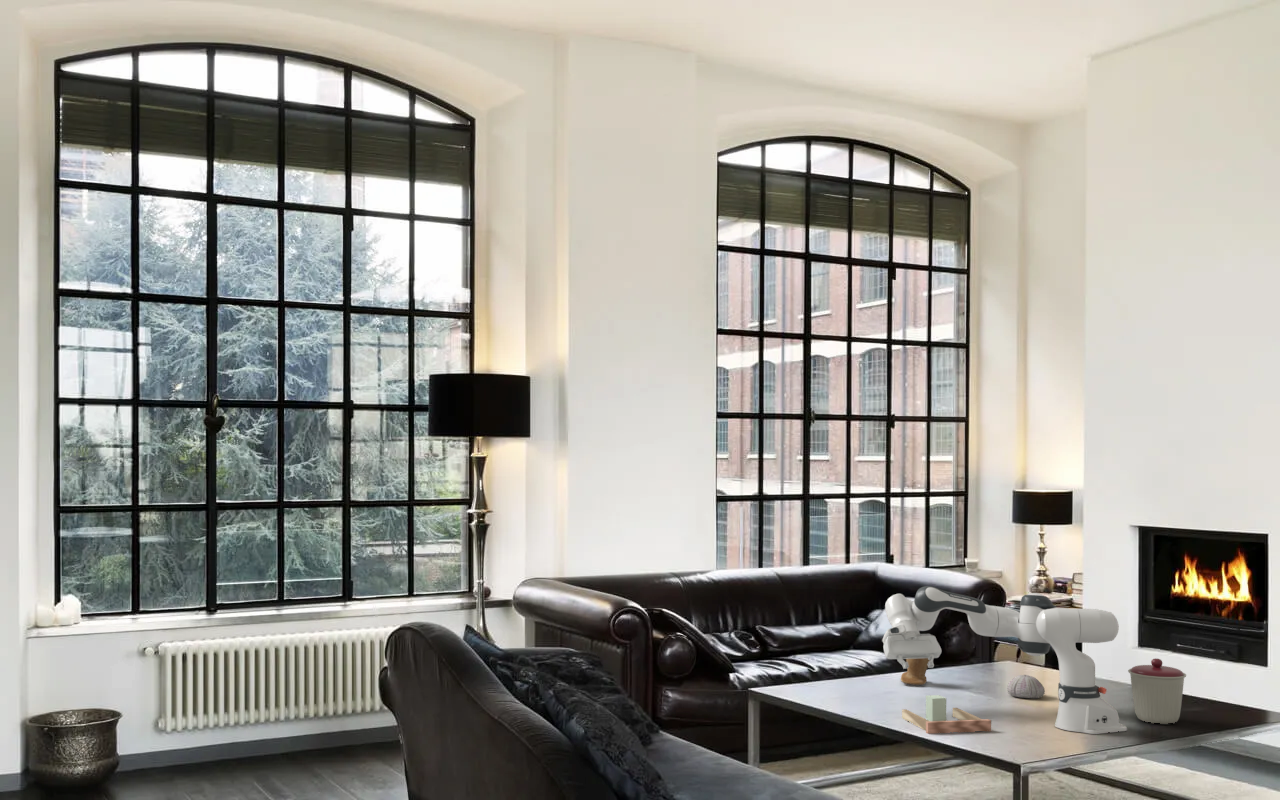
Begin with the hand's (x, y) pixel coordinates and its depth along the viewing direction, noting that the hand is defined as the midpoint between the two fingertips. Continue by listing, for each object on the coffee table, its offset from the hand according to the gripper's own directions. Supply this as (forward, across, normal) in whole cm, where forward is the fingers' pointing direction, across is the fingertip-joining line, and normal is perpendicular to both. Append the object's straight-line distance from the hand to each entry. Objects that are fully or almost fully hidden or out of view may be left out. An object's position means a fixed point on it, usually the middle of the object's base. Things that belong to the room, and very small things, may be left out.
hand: (918, 667), depth 408 cm
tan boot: (-24, -22, -47) cm, 57 cm away
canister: (+29, -75, +7) cm, 81 cm away
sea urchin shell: (-2, -52, -26) cm, 58 cm away
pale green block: (+20, 0, -2) cm, 20 cm away
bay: (+24, 0, +3) cm, 24 cm away
